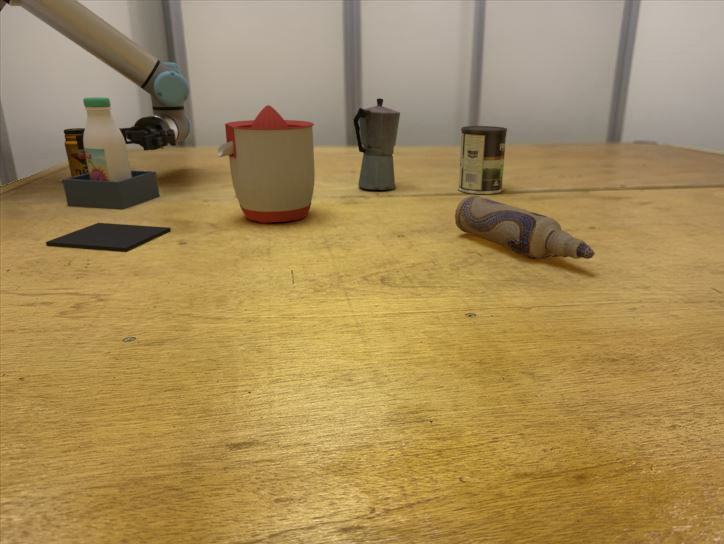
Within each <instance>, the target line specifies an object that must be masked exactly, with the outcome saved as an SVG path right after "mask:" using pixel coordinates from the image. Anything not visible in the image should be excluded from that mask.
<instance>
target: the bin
mask: <svg viewBox="0 0 724 544" xmlns="http://www.w3.org/2000/svg"><path fill="white" fill-rule="evenodd" d="M131 175H132V178H128V179H125V180H121V181H117V182H116V181H97V180H90V176H89V173H87V174H82V175H78V176H74V177H72V176H70V177H67V178H62V179H61V180H62V181H61V182H62V185H63V189H64V194H65V199H66V203H67V207H80V208H93V209H94V208H95V209H96V208H97V209H99V208H100V209H109V210H125V209H128V208H130V207H134V206H136V205H138V204H142V203H144V202H147V201H150V200H153V199H157V198H159V197H160V196H161V195H160V190H159V183H158V175H157V172H156V171H149V170H131Z"/></svg>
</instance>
